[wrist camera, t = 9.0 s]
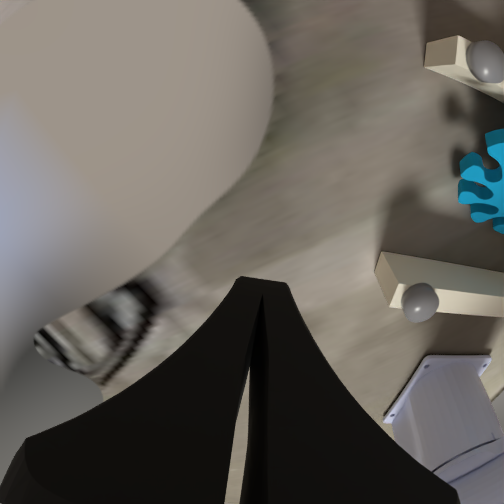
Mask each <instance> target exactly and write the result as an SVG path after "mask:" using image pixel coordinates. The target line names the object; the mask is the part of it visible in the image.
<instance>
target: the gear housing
mask: <svg viewBox="0 0 504 504" xmlns="http://www.w3.org/2000/svg"><path fill="white" fill-rule="evenodd" d="M424 68H427V69H430V70H432V71H435V72H437V73H440V74H442V75H445V76H447V77H450V78H452V79H454V80H457V81H459V82H461V83H464V84H466V85H468V86H470V87H472V88H474V89H477V90H479V91H481V92H483V93H485V94H487V95H489V96H491V97H493V98H495V99H497V100H498V101H500V102H502V103H504V53H503V52H502V50H501V49H500V48H499V47H498V46H497V45H496V44H495V43H493V42H491V41H488V40H483V41H476V42H471V41H469V40H467V39H465V38H463V37H461V36H459V35H457V36H452V37H448V38H444V39H440V40H436V41H432V42H428V43H427V45H426V54H425V62H424ZM374 273H375V275H376V278H377V280H378V282H379V284H380V287H381V289H382V292H383V294H384V296H385V299H386V301H387V303H388V306H389V307H393V308H402V309H403V311H404V313H405V316H406V318H407V319H408V320H409V321H411V322H422V321H425V320H427V319H429V318H430V317H431V316H433V315H434V313H435V312H443V313H455V314H466V315H479V316H492V317H504V273H502V272H497V271H492V270H486V269H481V268H475V267H470V266H464V265H459V264H453V263H448V262H442V261H436V260H431V259H425V258H419V257H413V256H408V255H402V254H396V253H390V252H384V251H381V254H380V257H379V260H378V263H377V266H376V269H375V272H374Z"/></svg>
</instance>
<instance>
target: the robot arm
mask: <svg viewBox="0 0 504 504" xmlns="http://www.w3.org/2000/svg"><path fill="white" fill-rule="evenodd" d="M491 360H492V358H491V356H490V355H428V356H426V357H425V358H424V359H423V361H422V362H421V364H420V365H419V367H418V369H417V370H416V372H415V373H414V375H413V376H412V378H411V379H410V381H409V382H408V384H407V385H406V387H405V388H404V390H403V391H402V393H401V394H400V396H399V397H398V399H397V400H396V401H395V403H394V404H393V406H392V407H391V408H390V410H389V411H388V412H387V414H386V415H385V416H384V418H383V423H391V424H392V428H393V433H394V438H395V441H394V440H393V439H392V438H391V437H390V436H389V435H388V434H387V433H386V432H385V431H384V430H383V429H382V428H381V427H380V426H379V425H378V424H377V423H376V422H375V421H374V420H373V419H372V418H371V417H370V416H369V415H368V414H367V413H366V411H365V410H364V409H363V408H362V407H361V406H360V405H359V403H358V402H357V401H356V400H355V399H354V397H353V396H352V395H351V394H350V392H349V391H348V390H347V388H346V387H345V386H344V385H343V383H342V382H341V381H340V379H339V378H338V376H337V375H336V374H335V372H334V371H333V369H332V368H331V366H330V365H329V363H328V362H327V360H326V359H325V357H324V355H323V354H322V352H321V351H320V349H319V347H318V346H317V344H316V342H315V340H314V339H313V337H312V335H311V333H310V331H309V329H308V328H307V326H306V324H305V322H304V320H303V318H302V316H301V314H300V312H299V310H298V308H297V305H296V303H295V301H294V299H293V296H292V294H291V291H290V288H289V286H288V285H287V283H285V282H278V281H271V280H264V279H257V278H250V277H244V276H240V277H239V278H237V279H236V281H235V283H234V285H233V286H232V288H231V290H230V291H229V293H228V294H227V295H226V297H225V298H224V299H223V301H222V302H221V303H220V305H219V306H218V307H217V308H216V309H215V311H214V312H213V313H212V314H211V315H210V317H209V318H208V319H207V320H206V321H205V322H204V323H203V324H202V326H201V327H200V328H199V329H198V330H197V331H196V332H195V333H194V334H193V335H192V336H191V337H190V338H189V339H188V340H187V341H186V342H185V343H184V344H183V345H182V346H180V347H179V348H178V349H177V350H176V351H175V352H174V353H173V354H172V355H170V356H169V357H168V358H167V359H166V360H164V361H163V362H162V363H161V364H160V365H158V366H157V367H156V368H154V369H153V370H152V371H150V372H149V373H148V374H146V375H145V376H144V377H142V378H141V379H139V380H138V381H137V382H135V383H134V384H132V385H131V386H129V387H128V388H126V389H125V390H123V391H122V392H120V393H119V394H117V395H115V396H113V397H112V398H110V399H108V400H106V401H105V402H103V403H101V404H99V405H98V406H96V407H94V408H92V409H91V410H89V411H87V412H85V413H83V414H81V415H79V416H77V417H76V418H74V419H71V420H69V421H66V422H64V423H62V424H59V425H57V426H55V427H52V428H50V429H48V430H45V431H43V432H41V433H38V434H36V435H33V436H30V437H28V438H26V439H25V441H24V443H23V444H22V446H21V447H20V449H19V450H18V451H17V453H16V454H15V456H14V458H13V460H12V462H11V464H10V466H9V468H8V470H7V473H6V475H5V477H4V479H3V481H2V483H1V485H0V503H2V504H224V502H225V495H226V488H227V481H228V474H229V466H230V459H231V452H232V445H233V438H234V431H235V424H236V419H237V416H238V412H239V408H240V404H241V400H242V396H243V392H244V388H245V384H246V379H247V375H248V371H249V367H250V380H249V423H248V444H247V453H246V460H245V468H244V475H243V483H242V490H241V497H240V504H504V433H503V430H502V428H501V425H500V423H499V420H498V418H497V415H496V413H495V411H494V408H493V406H492V404H491V401H490V399H489V397H488V395H487V392H486V390H485V388H484V386H483V384H482V382H481V379H480V376H481V375H482V373H483V372H484V370H485V369H486V368H487V366H488V365H489V363H490V362H491Z"/></svg>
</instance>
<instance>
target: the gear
mask: <svg viewBox="0 0 504 504" xmlns="http://www.w3.org/2000/svg"><path fill="white" fill-rule="evenodd" d="M485 139H486V144H487V150H488V153H489V155H490V156H491V157H493V158H495V159H496V160H497V161H498V162H499V164H500V166H499V167H498V168H496V169H487V168H485V167H484V166H483V162H482V158H481V156H480V155H479V154H477V153H474V152H471V153H469V154H467V155H466V156H465V157H464V158H463V159H462V160H461V161H460V174H461V177H462V178H464V179H461V180H460V181H459V184H458V202H459V203H461V204H470V210H471V218H472V219H473V221H474V222H476V223H480V222H484V221H486V220H488V219H491V218H493V229H494V230H495V231H497V232H499V233H502V234H504V129H498V130H494V131H491V132H488V133H486V134H485ZM473 181H475V182H478V183H481V184H483V185H485V186H487V187H480V186H478V185H477V184H476V183H474V182H473Z"/></svg>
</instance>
